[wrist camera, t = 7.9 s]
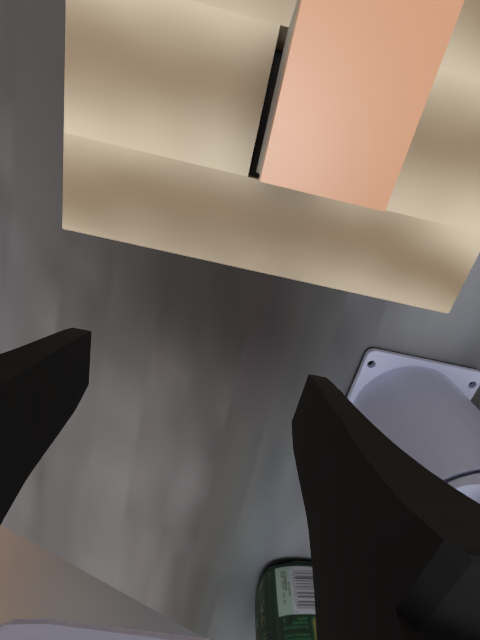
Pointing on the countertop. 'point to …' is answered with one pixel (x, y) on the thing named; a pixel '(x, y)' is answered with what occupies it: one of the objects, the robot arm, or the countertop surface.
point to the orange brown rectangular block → (352, 95)
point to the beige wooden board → (237, 149)
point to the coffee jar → (286, 603)
